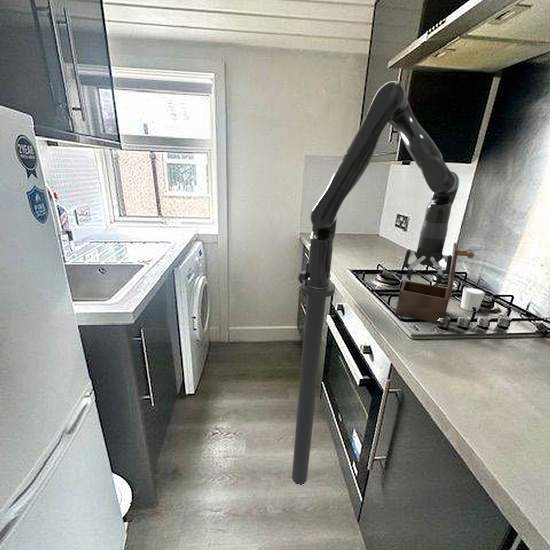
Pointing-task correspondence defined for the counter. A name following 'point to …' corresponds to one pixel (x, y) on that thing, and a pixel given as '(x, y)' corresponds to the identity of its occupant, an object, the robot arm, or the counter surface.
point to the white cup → (471, 298)
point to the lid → (456, 252)
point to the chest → (422, 301)
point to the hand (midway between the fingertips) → (422, 282)
